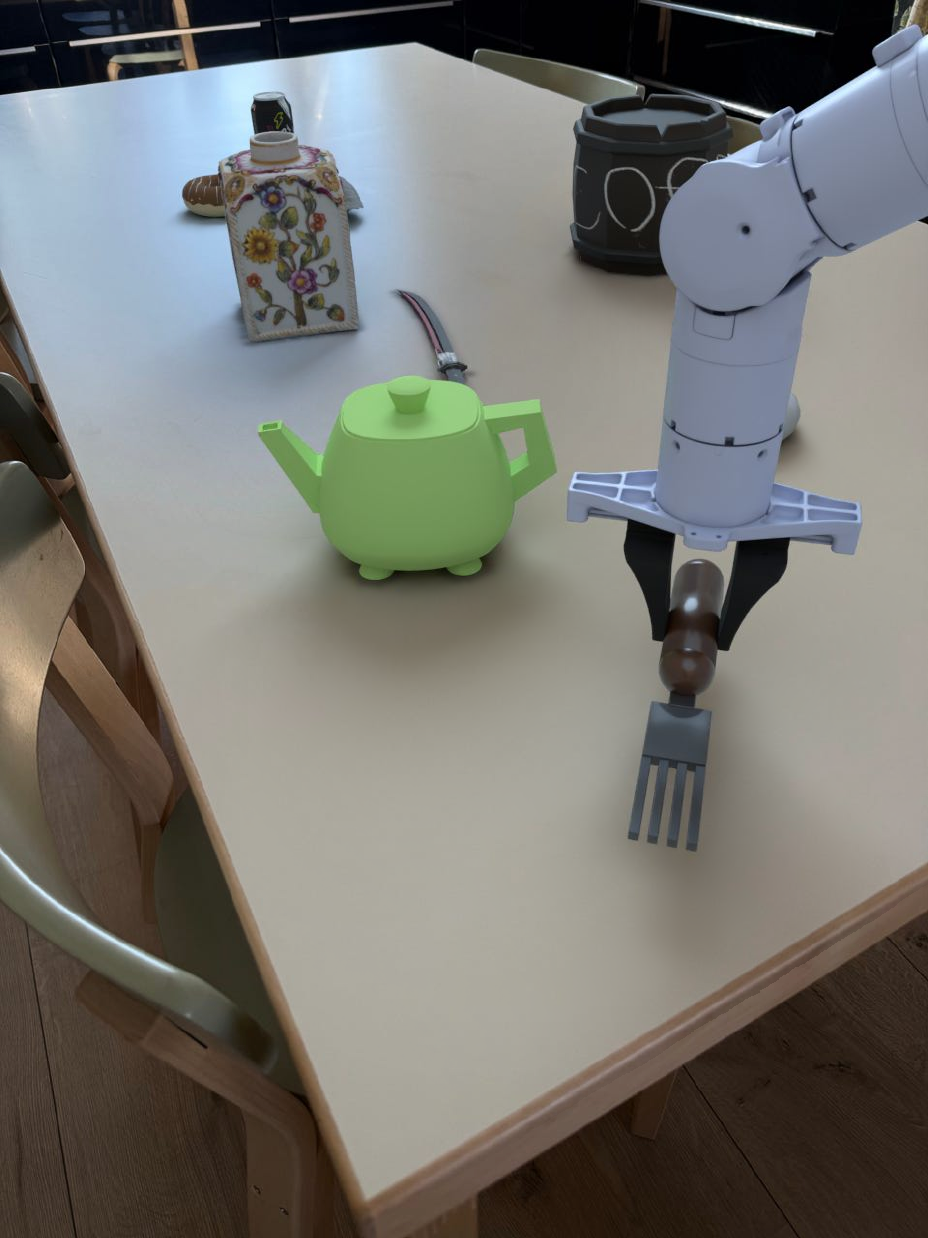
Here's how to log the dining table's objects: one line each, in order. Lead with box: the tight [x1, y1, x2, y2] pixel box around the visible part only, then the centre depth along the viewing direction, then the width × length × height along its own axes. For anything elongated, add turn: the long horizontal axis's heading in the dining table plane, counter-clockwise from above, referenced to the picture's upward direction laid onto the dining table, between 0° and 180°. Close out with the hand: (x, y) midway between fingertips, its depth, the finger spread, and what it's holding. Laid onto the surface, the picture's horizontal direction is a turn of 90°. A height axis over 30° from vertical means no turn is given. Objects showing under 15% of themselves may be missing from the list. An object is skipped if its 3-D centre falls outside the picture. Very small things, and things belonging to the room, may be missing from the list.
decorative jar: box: [217, 131, 360, 343], centre depth 100 cm, size 12×12×18 cm
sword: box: [397, 289, 468, 386], centre depth 99 cm, size 31×3×1 cm, turn 13°
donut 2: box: [181, 173, 225, 218], centre depth 136 cm, size 11×11×4 cm
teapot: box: [257, 375, 558, 581], centre depth 68 cm, size 20×13×13 cm
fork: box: [627, 558, 725, 853], centre depth 53 cm, size 20×3×3 cm, turn 165°
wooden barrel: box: [569, 93, 734, 277], centre depth 113 cm, size 18×18×16 cm
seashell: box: [338, 175, 364, 212], centre depth 132 cm, size 12×8×5 cm
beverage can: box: [250, 91, 296, 135], centre depth 143 cm, size 6×6×12 cm
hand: (691, 634), depth 56 cm, fingers closed on fork, 3 cm apart
